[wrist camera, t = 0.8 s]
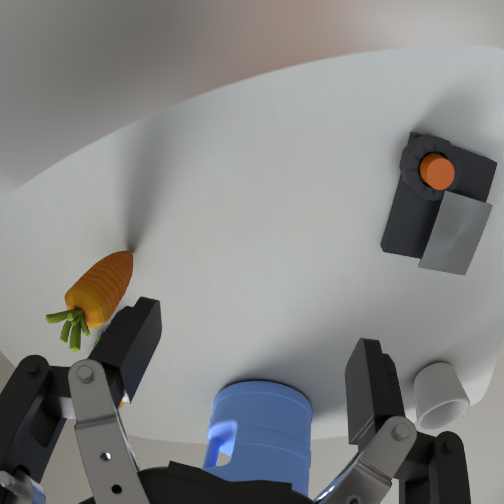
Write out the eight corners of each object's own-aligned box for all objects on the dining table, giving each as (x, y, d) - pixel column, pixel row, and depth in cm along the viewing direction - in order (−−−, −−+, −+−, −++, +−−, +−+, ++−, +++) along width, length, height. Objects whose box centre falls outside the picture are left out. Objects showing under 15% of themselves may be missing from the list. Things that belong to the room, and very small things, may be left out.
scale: (402, 125, 25) (413, 130, 22) (491, 156, 24) (506, 164, 22) (372, 244, 31) (378, 258, 28) (456, 260, 30) (467, 274, 28)
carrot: (106, 239, 35) (29, 318, 22) (138, 230, 34) (62, 316, 21) (123, 274, 37) (59, 360, 24) (155, 268, 36) (94, 362, 23)
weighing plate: (444, 189, 24) (445, 190, 24) (491, 204, 24) (492, 205, 24) (417, 265, 28) (418, 267, 28) (463, 274, 28) (464, 275, 28)
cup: (458, 384, 40) (471, 423, 33) (416, 403, 43) (424, 442, 36) (452, 347, 37) (469, 391, 30) (402, 369, 39) (413, 415, 33)
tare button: (423, 149, 23) (431, 154, 22) (449, 158, 23) (458, 162, 22) (416, 179, 25) (422, 185, 23) (441, 186, 24) (449, 193, 23)
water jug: (318, 380, 42) (310, 574, 18) (306, 431, 50) (295, 575, 25) (209, 372, 44) (157, 553, 20) (220, 424, 52) (187, 563, 27)
